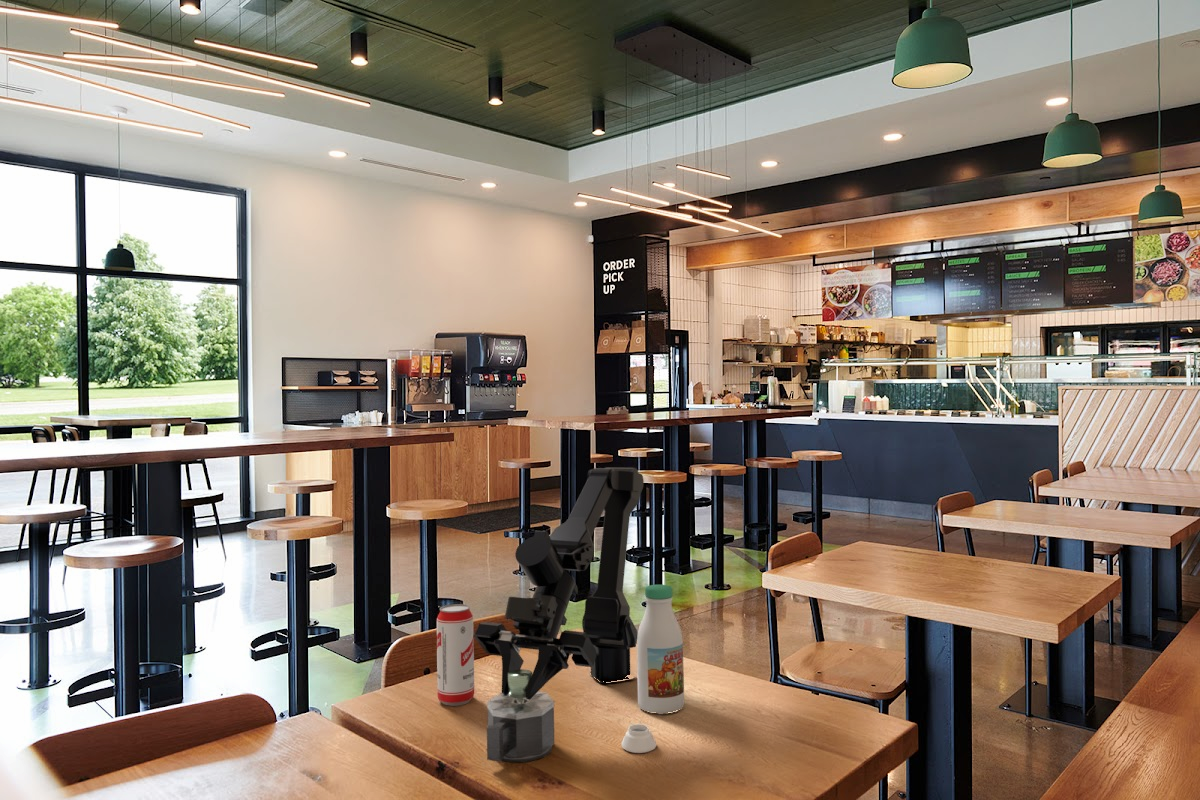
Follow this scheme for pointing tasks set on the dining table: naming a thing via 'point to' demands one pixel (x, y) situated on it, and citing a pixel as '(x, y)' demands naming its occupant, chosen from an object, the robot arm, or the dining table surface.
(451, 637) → the beer can
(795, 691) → the dining table surface
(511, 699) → the grey octagonal canister
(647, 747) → the white jar
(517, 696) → the plunger
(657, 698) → the milk bottle
